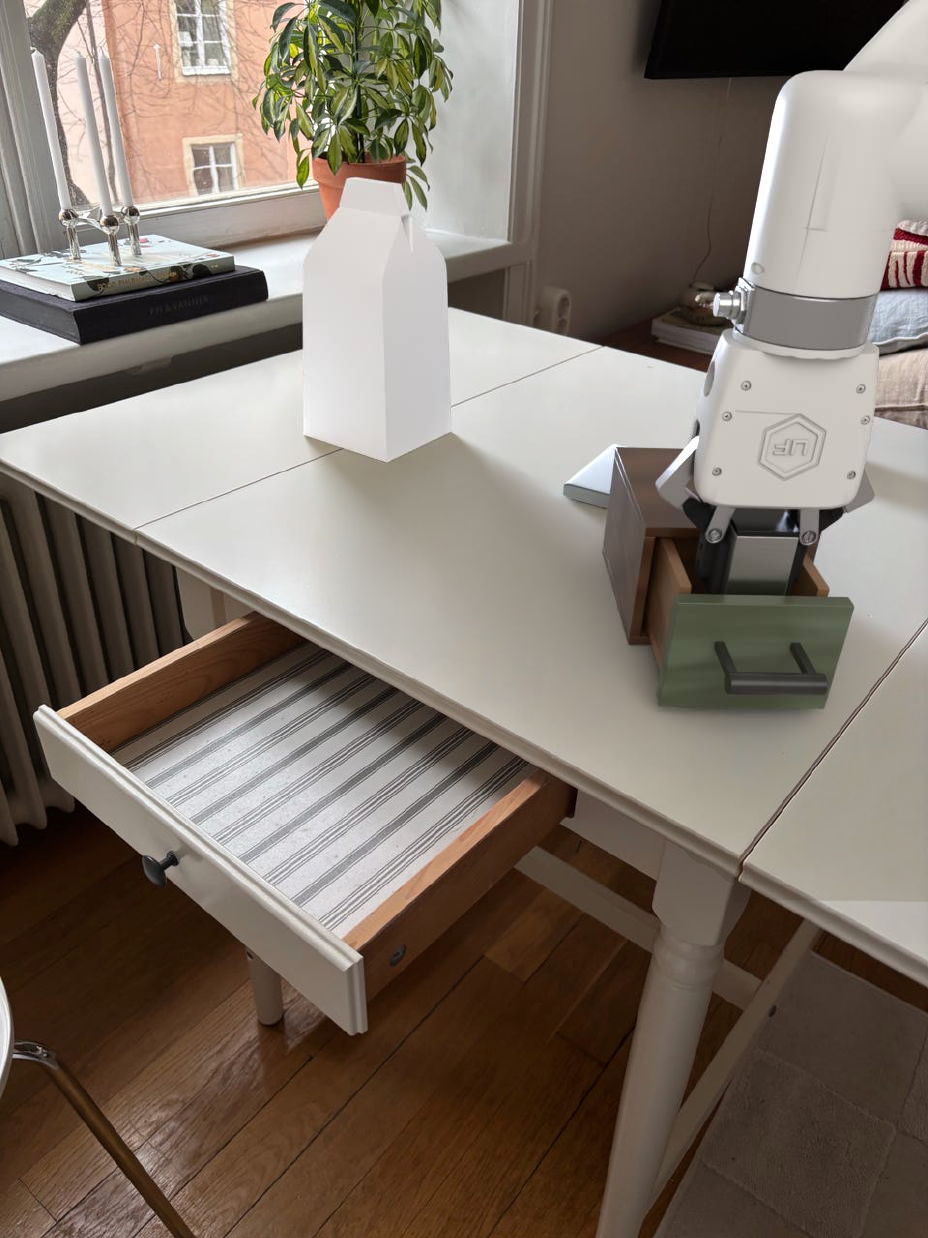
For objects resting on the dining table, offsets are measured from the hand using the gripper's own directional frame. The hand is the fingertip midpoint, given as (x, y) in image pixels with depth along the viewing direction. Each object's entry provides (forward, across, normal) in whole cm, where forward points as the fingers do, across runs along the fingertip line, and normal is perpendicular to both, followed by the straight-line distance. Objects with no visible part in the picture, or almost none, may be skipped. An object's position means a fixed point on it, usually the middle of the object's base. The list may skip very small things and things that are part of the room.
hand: (743, 584), depth 65 cm
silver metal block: (+1, 0, 0) cm, 1 cm away
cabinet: (+8, 0, +11) cm, 14 cm away
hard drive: (+8, -2, +33) cm, 34 cm away
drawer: (+7, 0, 0) cm, 7 cm away
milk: (+8, -28, +46) cm, 54 cm away
